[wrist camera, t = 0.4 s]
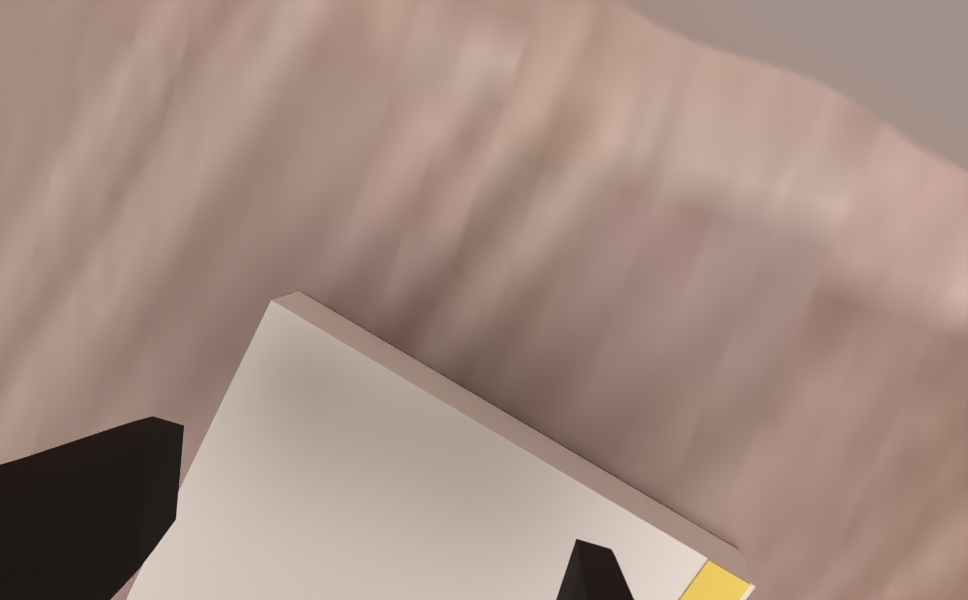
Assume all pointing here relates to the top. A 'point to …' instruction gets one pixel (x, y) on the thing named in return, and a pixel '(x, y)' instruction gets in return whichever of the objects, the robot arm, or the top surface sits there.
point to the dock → (400, 489)
